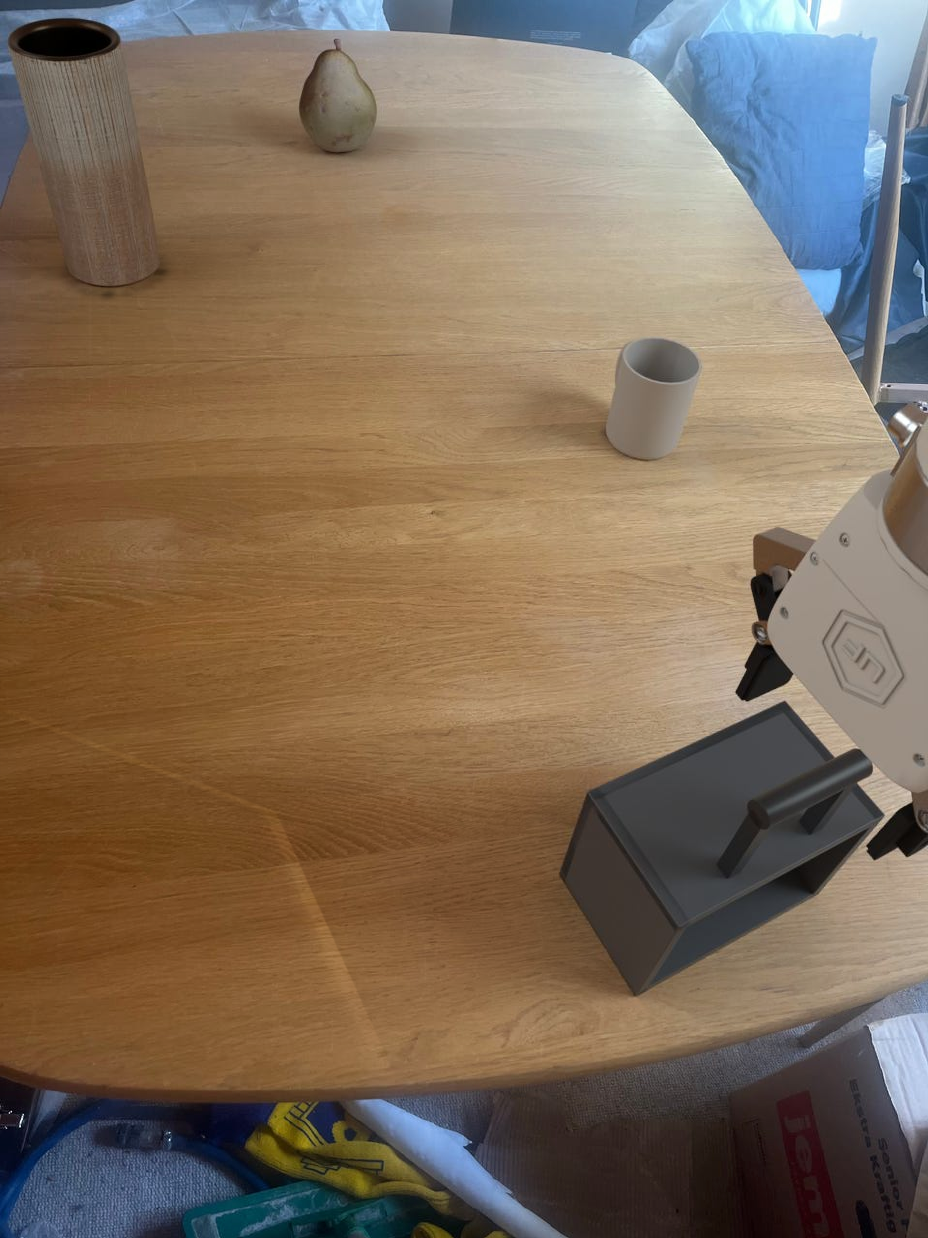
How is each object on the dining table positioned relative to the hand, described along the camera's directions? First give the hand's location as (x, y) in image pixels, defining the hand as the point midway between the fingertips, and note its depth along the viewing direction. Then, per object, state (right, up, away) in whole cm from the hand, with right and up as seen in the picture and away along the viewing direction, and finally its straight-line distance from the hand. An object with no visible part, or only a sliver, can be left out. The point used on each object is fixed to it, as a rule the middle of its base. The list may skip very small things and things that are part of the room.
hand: (822, 761), depth 47 cm
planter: (-56, +46, +59) cm, 94 cm away
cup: (-1, +26, +47) cm, 54 cm away
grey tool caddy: (-4, -2, +12) cm, 13 cm away
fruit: (-34, +70, +81) cm, 112 cm away
